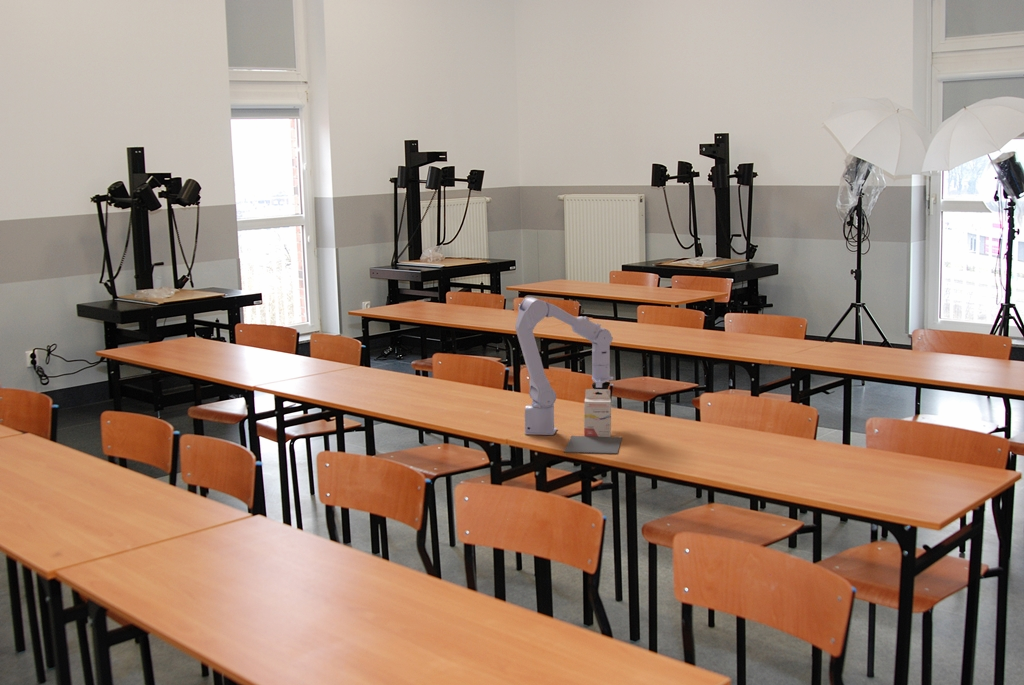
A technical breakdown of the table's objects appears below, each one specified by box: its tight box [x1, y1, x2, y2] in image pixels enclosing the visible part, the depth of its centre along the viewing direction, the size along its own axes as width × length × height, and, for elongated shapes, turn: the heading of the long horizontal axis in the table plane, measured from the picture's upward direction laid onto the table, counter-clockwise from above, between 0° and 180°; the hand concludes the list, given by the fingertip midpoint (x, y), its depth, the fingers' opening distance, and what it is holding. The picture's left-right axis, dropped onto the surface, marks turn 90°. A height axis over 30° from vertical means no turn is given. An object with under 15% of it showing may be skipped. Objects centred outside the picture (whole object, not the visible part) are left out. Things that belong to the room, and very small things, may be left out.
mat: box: [563, 435, 623, 455], centre depth 303 cm, size 16×18×1 cm
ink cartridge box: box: [583, 388, 612, 437], centre depth 314 cm, size 9×5×15 cm, turn 84°
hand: (601, 404), depth 325 cm, fingers closed
